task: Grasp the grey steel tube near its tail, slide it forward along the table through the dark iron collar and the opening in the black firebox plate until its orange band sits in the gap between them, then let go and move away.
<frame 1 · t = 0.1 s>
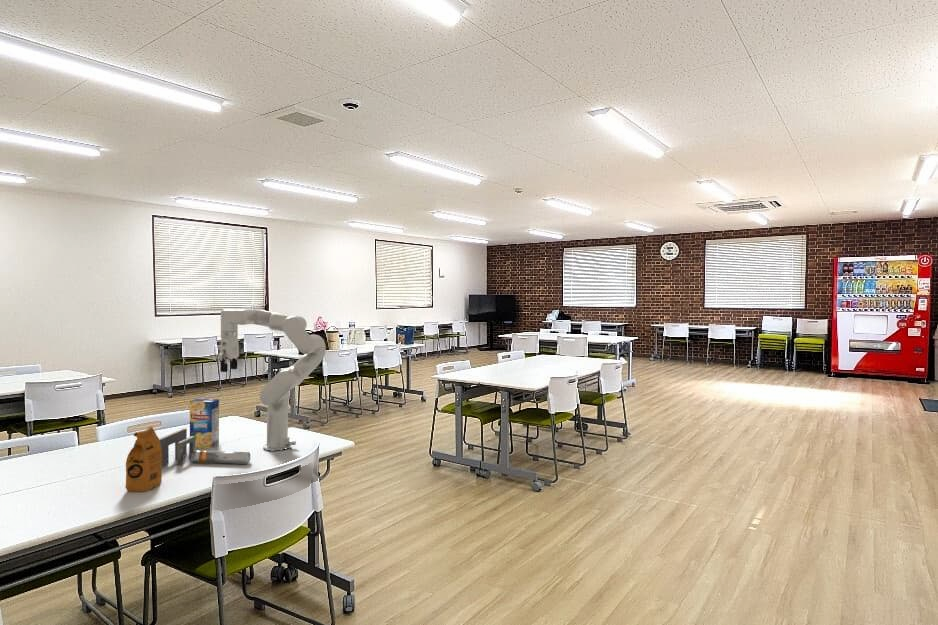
hand: (229, 370, 268), 37 cm above the table, tool pointing down, fingers open, 9 cm apart
blue food box: (204, 445, 270), on the table
collar: (186, 461, 244), on the table
firebox plate: (171, 461, 245), on the table
coffee package: (143, 487, 212), on the table
steel tube: (221, 462, 243), on the table
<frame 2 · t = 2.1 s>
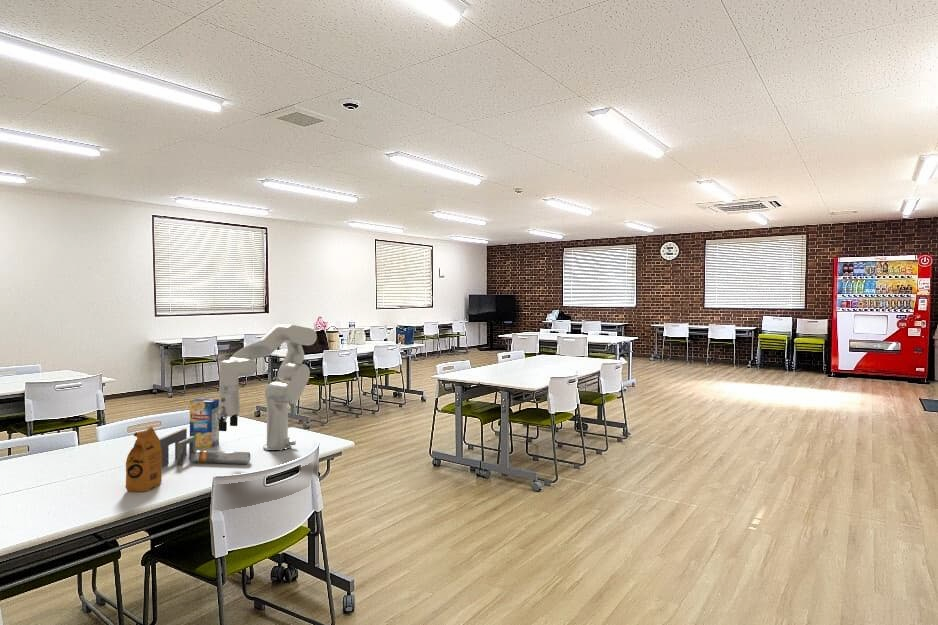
hand: (228, 428, 242), 15 cm above the table, tool pointing down, fingers open, 9 cm apart
nothing on the table moved.
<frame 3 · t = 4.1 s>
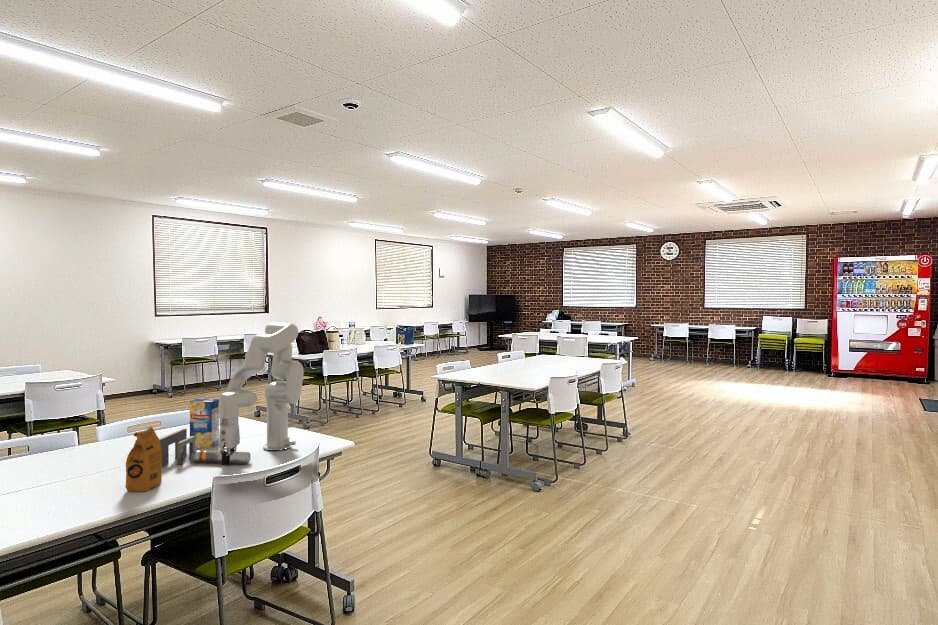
hand: (228, 462, 243), 0 cm above the table, tool pointing down, fingers closed on steel tube, 5 cm apart
steel tube: (220, 462, 243), on the table, touching gripper
everything else where it was.
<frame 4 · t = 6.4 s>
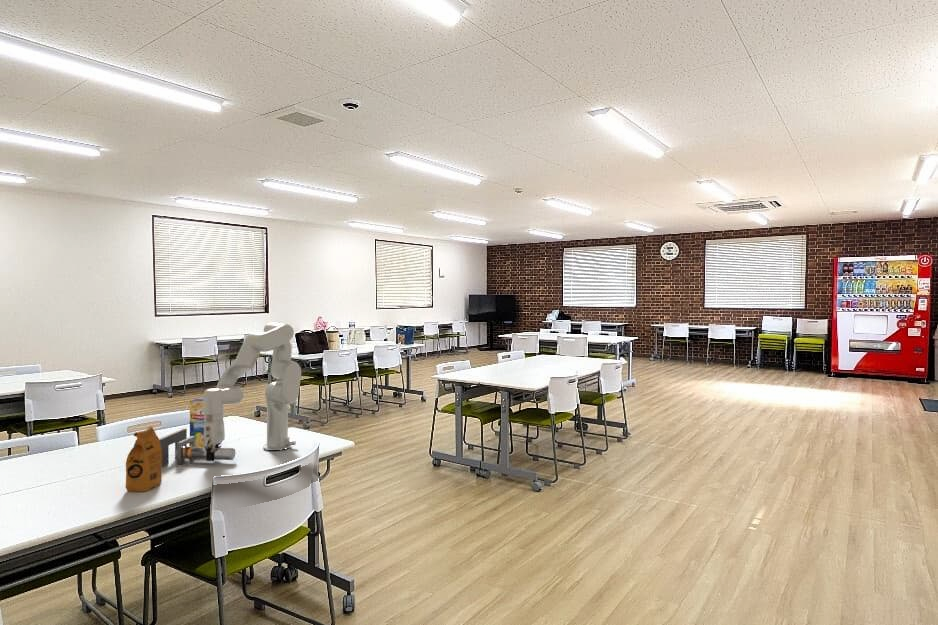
hand: (213, 458, 243), 2 cm above the table, tool pointing down, fingers closed on steel tube, 5 cm apart
steel tube: (205, 459, 243), point 2 cm above the table, touching gripper
everything else where it was.
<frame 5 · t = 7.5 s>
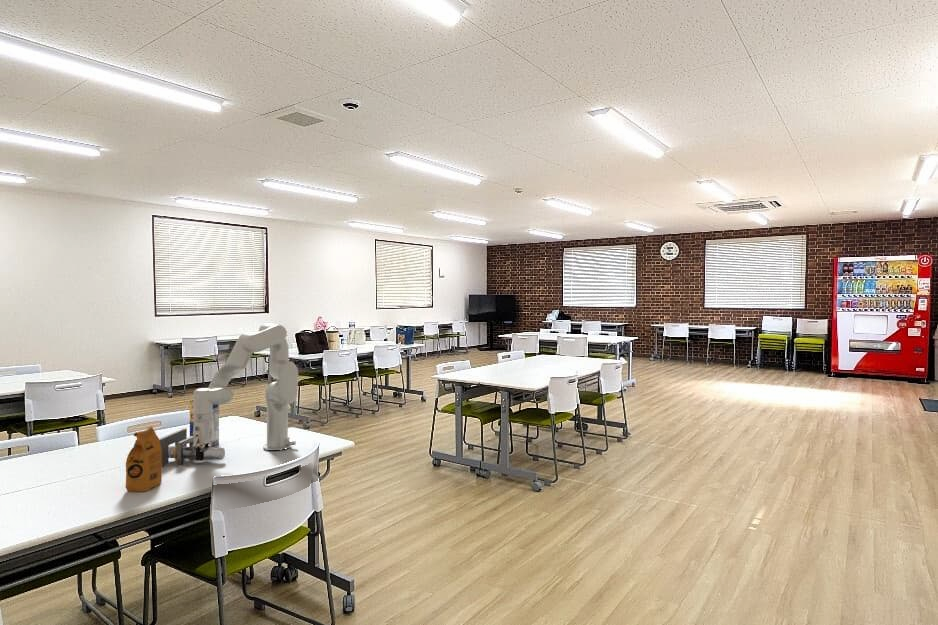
hand: (203, 458, 244), 2 cm above the table, tool pointing down, fingers closed on steel tube, 5 cm apart
steel tube: (195, 458, 244), point 1 cm above the table, touching gripper
everything else where it was.
when the fingers open (1 cm above the table, at t = 8.7 s): steel tube stays where it is, on the table.
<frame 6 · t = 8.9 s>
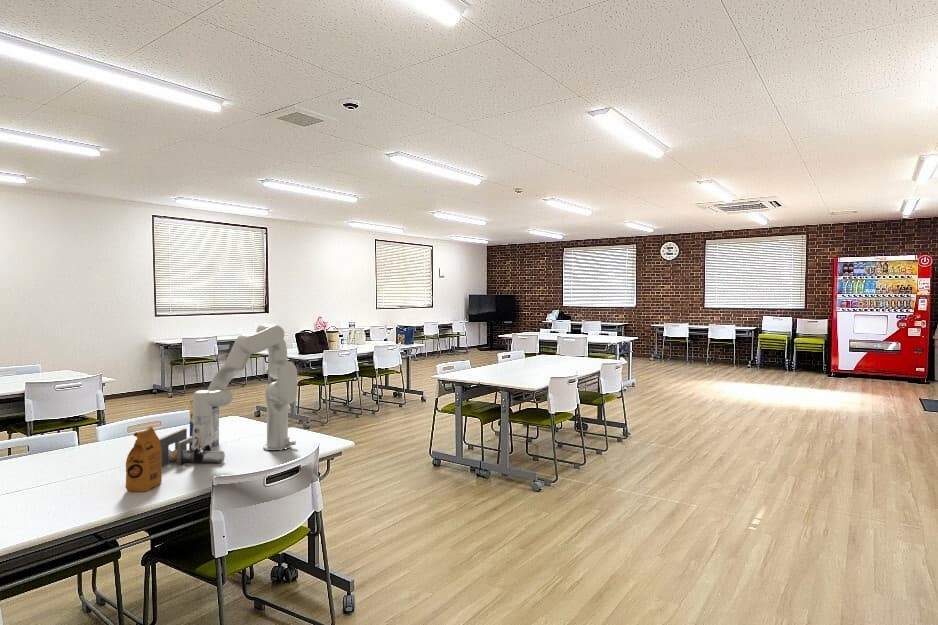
hand: (202, 459, 244), 1 cm above the table, tool pointing down, fingers open, 7 cm apart
steel tube: (195, 462, 244), on the table
everything else where it was.
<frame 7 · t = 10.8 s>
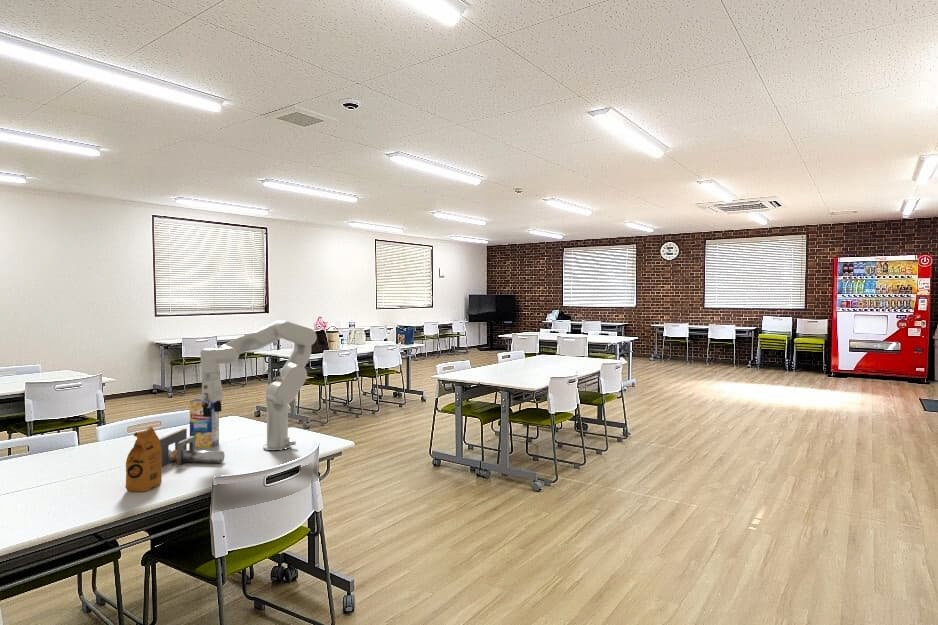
hand: (212, 414, 250), 20 cm above the table, tool pointing down, fingers open, 9 cm apart
nothing on the table moved.
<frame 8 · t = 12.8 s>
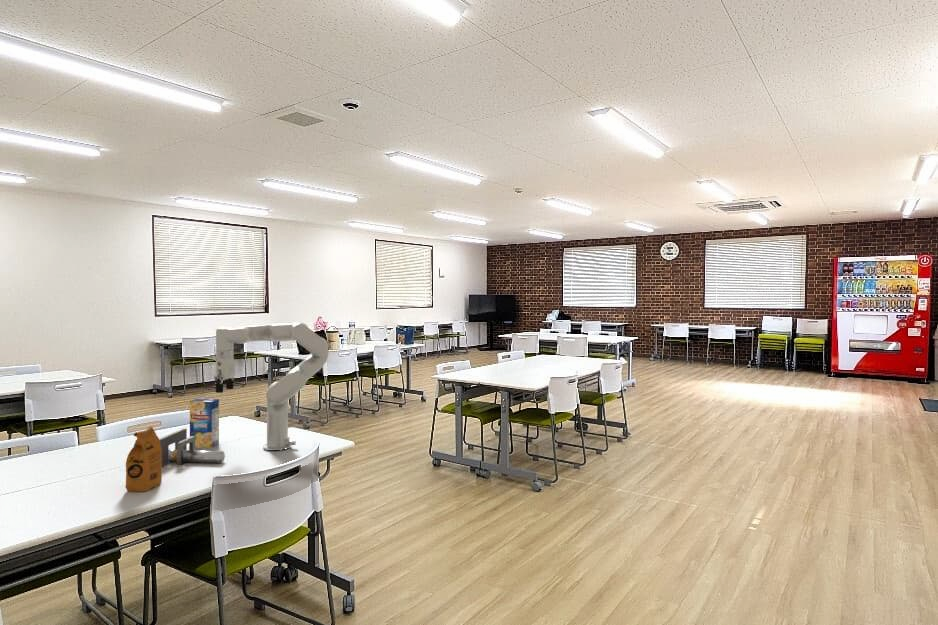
hand: (224, 390, 261), 28 cm above the table, tool pointing down, fingers open, 9 cm apart
nothing on the table moved.
at the end: steel tube 0.1 cm from the target spot, on the table; the gripper is holding nothing; steel tube on the table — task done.
